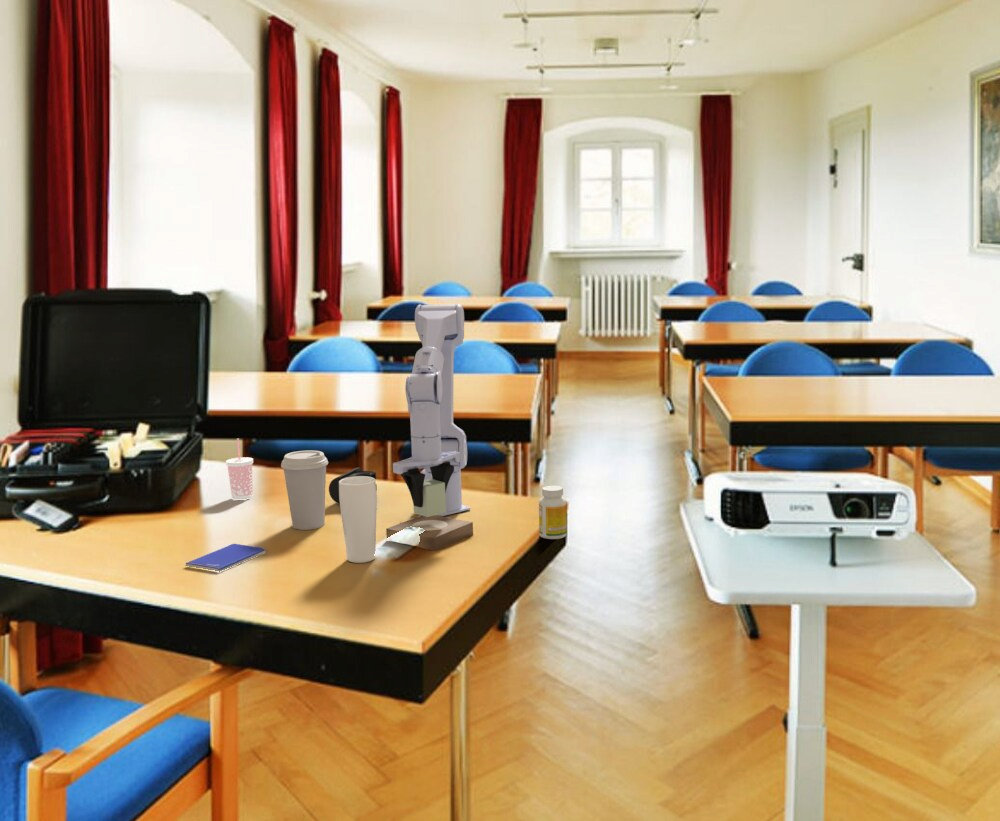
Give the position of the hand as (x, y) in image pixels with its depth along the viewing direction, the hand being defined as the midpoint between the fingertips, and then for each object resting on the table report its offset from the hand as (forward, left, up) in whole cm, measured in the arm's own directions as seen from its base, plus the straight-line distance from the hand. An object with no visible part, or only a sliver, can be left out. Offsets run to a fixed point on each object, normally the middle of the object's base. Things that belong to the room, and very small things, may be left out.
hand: (428, 503), depth 198 cm
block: (0, 0, -2) cm, 2 cm away
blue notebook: (-16, -35, -8) cm, 39 cm away
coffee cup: (-25, -13, -7) cm, 29 cm away
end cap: (-35, +4, -7) cm, 36 cm away
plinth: (0, 0, -7) cm, 7 cm away
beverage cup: (-56, -13, -7) cm, 58 cm away
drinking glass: (+2, -17, -7) cm, 19 cm away
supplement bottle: (+16, +18, -7) cm, 25 cm away
